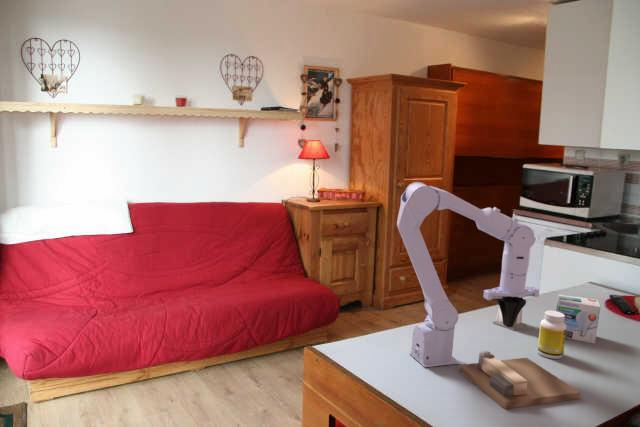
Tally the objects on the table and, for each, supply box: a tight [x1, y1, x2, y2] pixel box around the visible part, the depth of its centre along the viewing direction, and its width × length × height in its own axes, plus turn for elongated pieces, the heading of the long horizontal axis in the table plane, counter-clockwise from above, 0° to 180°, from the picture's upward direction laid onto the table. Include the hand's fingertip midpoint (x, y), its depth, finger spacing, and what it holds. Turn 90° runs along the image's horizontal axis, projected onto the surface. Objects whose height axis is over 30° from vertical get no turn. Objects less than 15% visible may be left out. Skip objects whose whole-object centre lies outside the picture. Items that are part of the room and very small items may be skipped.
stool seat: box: [458, 357, 581, 410], centre depth 115 cm, size 19×17×4 cm
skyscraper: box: [492, 243, 531, 332], centre depth 151 cm, size 8×8×28 cm
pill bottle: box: [536, 310, 567, 360], centre depth 132 cm, size 6×6×11 cm
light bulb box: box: [555, 293, 602, 344], centre depth 145 cm, size 11×7×11 cm, turn 68°
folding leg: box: [477, 350, 528, 396], centre depth 114 cm, size 14×3×4 cm, turn 16°
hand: (507, 325), depth 125 cm, fingers closed
